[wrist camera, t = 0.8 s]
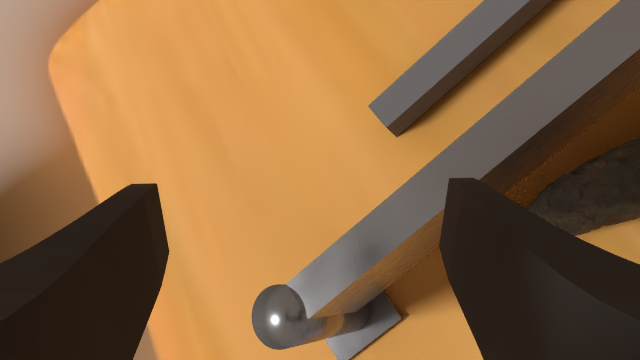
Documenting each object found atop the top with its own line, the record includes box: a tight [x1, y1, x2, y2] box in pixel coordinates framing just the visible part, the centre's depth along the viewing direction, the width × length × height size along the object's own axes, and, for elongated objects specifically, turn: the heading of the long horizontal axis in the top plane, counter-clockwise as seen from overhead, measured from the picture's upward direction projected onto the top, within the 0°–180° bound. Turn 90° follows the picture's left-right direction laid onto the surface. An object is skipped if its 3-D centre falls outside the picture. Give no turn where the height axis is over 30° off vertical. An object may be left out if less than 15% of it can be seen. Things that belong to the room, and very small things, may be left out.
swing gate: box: [252, 0, 640, 350], centre depth 20 cm, size 21×2×7 cm, turn 126°
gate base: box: [325, 290, 403, 360], centre depth 25 cm, size 4×4×1 cm
